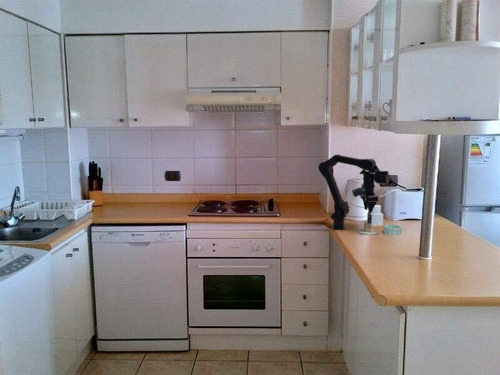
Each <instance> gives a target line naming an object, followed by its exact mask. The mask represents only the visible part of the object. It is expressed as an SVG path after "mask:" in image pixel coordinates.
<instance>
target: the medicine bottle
mask: <svg viewBox="0 0 500 375" xmlns="http://www.w3.org/2000/svg"><path fill="white" fill-rule="evenodd" d="M366 220H367V221H366V222H367V223H370V224H371V227H375V226H379V227H380V226H384V213H382V205H380V204H379V203H376V205H375V206H374V208H373V210H372V212H371V213H369V212H368V211H367V219H366Z"/></svg>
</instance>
